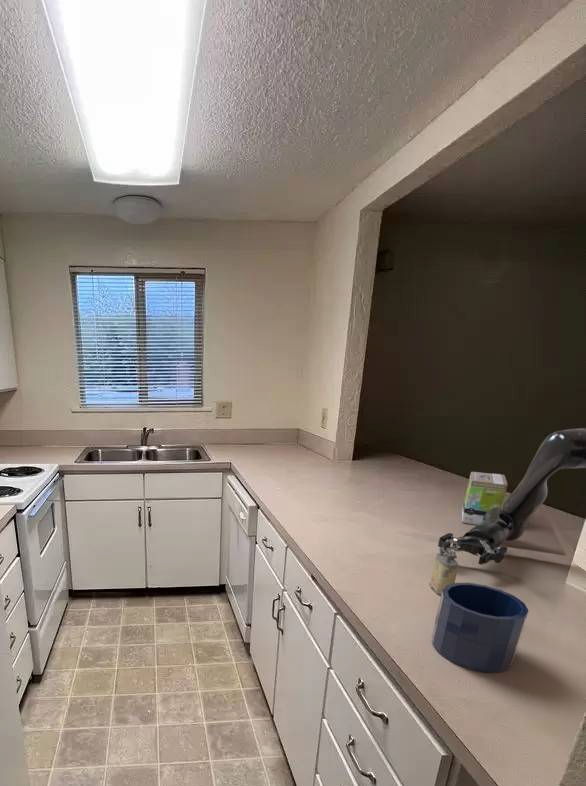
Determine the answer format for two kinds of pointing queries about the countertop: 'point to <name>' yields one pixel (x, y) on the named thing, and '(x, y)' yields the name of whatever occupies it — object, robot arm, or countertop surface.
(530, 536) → the countertop surface
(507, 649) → the pot
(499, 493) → the tea box
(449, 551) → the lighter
